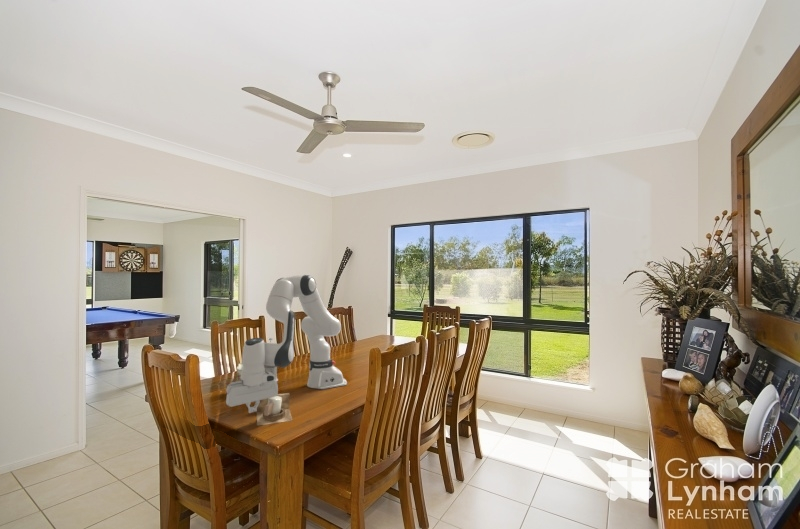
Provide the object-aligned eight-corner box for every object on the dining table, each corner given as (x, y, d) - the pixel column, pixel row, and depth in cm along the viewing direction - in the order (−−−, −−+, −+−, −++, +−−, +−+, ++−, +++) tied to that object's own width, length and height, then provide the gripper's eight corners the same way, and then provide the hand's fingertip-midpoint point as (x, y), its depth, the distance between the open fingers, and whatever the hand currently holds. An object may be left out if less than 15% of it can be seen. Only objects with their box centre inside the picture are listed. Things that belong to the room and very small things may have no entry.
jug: (270, 411, 157) (272, 395, 157) (282, 413, 156) (284, 397, 156) (258, 421, 147) (260, 403, 147) (271, 423, 146) (273, 405, 146)
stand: (288, 410, 164) (289, 392, 165) (292, 424, 150) (292, 404, 150) (256, 414, 159) (256, 396, 159) (256, 429, 144) (257, 409, 144)
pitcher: (246, 399, 178) (246, 371, 178) (229, 391, 189) (229, 365, 190) (266, 393, 186) (266, 367, 187) (248, 386, 198) (249, 361, 198)
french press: (276, 377, 216) (277, 336, 216) (281, 382, 206) (282, 339, 207) (259, 379, 210) (260, 337, 211) (263, 384, 201) (264, 340, 201)
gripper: (229, 385, 138) (228, 421, 137) (279, 375, 152) (279, 407, 151) (224, 381, 142) (223, 416, 142) (273, 372, 156) (273, 403, 156)
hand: (252, 411), depth 147 cm, fingers closed
